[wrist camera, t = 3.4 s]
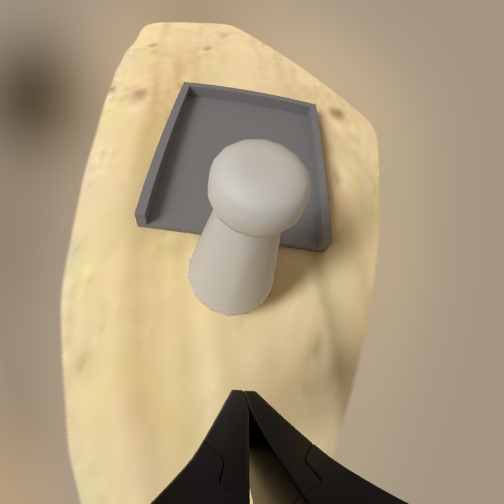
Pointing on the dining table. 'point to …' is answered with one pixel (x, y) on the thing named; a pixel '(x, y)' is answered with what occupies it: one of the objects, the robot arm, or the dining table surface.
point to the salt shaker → (247, 223)
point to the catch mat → (214, 141)
